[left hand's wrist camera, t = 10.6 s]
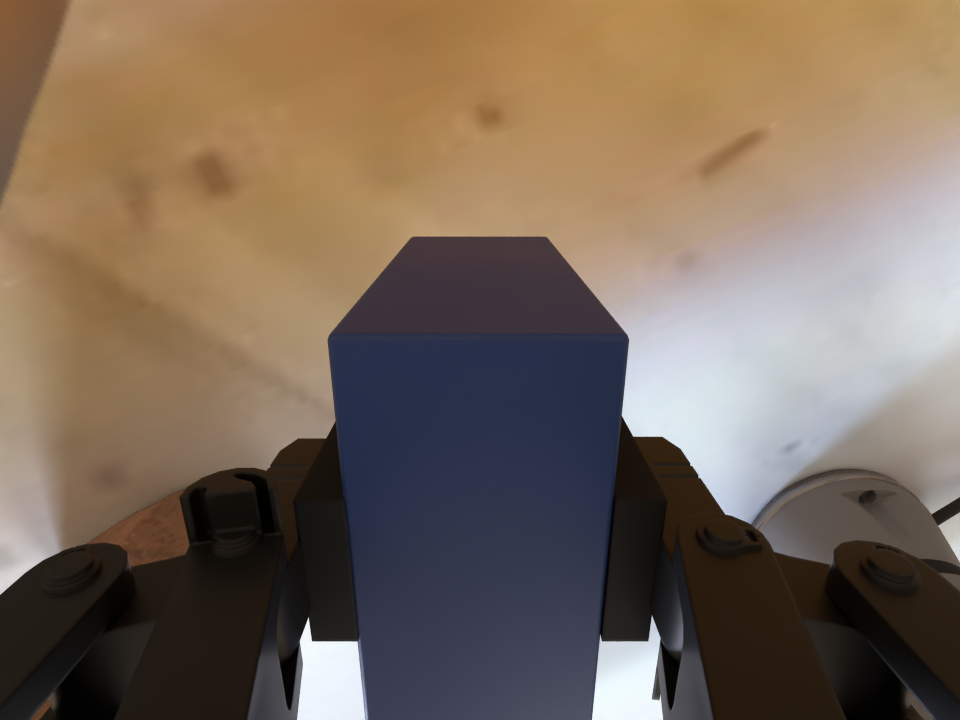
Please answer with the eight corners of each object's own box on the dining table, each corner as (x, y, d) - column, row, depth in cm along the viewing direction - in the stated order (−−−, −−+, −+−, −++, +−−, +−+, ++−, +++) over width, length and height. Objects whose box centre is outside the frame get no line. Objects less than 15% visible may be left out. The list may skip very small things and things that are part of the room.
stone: (222, 442, 44) (-173, 891, 18) (316, 537, 47) (98, 1031, 21) (50, 560, 49) (-452, 1044, 23) (145, 638, 52) (-198, 1137, 26)
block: (420, 465, 19) (366, 745, 10) (410, 235, 16) (325, 335, 7) (538, 465, 19) (590, 745, 10) (547, 236, 16) (631, 335, 7)
